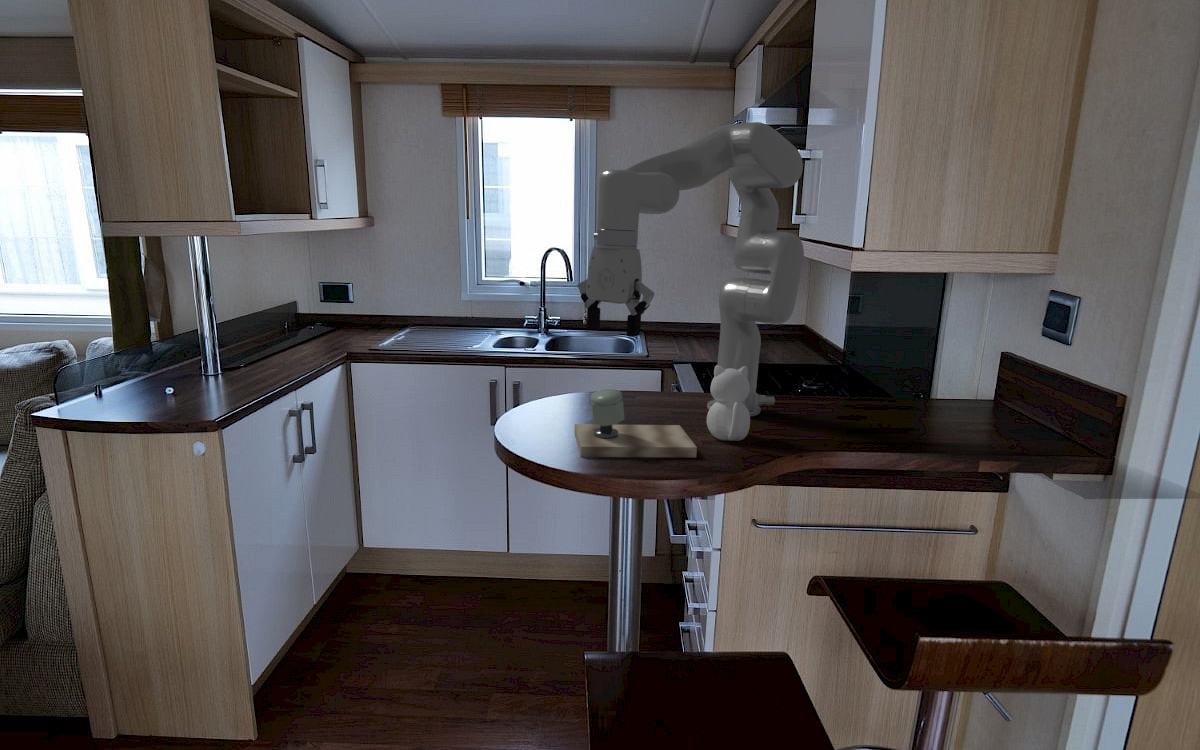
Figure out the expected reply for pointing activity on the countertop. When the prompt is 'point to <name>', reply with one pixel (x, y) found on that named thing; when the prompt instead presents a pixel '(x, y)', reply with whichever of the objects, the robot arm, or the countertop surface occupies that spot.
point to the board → (635, 441)
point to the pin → (605, 432)
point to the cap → (607, 407)
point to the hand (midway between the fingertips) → (612, 332)
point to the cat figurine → (729, 404)
